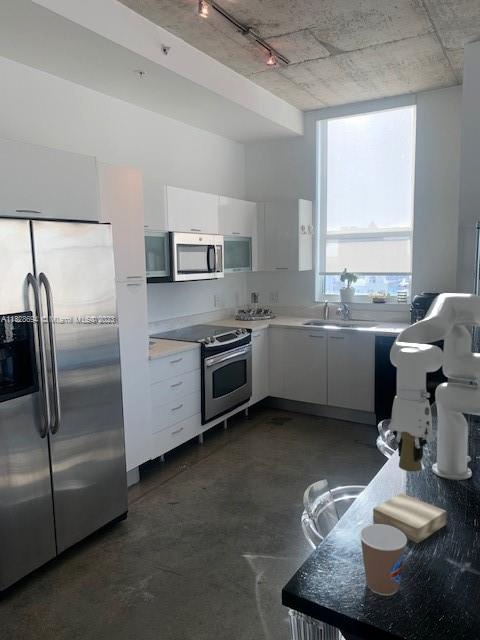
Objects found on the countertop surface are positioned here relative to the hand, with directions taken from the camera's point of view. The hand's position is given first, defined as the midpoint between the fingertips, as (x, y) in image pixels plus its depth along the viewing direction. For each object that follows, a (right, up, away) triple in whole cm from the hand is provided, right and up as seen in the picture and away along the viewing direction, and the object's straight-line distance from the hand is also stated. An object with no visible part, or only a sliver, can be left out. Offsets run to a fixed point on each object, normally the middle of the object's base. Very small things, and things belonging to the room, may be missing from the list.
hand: (410, 457), depth 133 cm
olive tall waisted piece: (0, -3, 0) cm, 3 cm away
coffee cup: (-15, -23, -24) cm, 36 cm away
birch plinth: (0, -19, +2) cm, 19 cm away
